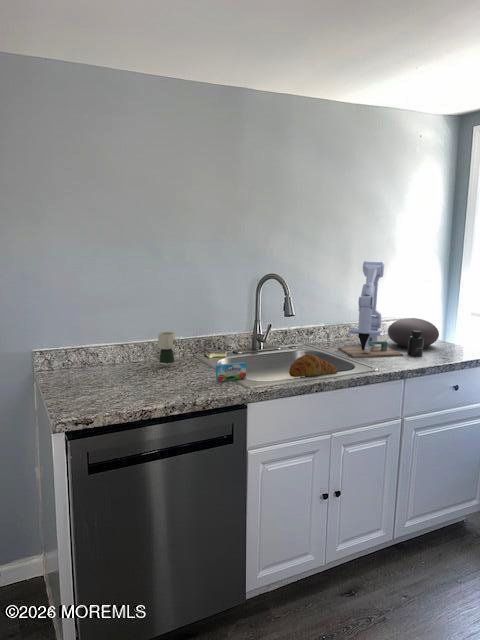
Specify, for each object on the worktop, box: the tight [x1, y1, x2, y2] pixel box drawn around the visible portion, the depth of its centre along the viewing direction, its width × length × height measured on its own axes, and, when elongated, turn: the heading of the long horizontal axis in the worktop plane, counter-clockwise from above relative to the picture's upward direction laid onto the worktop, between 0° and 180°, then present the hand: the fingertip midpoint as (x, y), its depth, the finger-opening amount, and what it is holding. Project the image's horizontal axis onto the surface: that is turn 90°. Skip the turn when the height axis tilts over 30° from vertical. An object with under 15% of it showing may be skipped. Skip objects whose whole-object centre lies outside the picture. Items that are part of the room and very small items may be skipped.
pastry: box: [288, 353, 338, 378], centre depth 188 cm, size 21×13×8 cm, turn 113°
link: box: [364, 337, 374, 354], centre depth 226 cm, size 15×4×5 cm, turn 158°
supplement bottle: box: [406, 330, 424, 358], centre depth 220 cm, size 7×7×12 cm
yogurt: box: [215, 361, 247, 383], centre depth 177 cm, size 12×2×6 cm, turn 114°
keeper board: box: [338, 340, 404, 359], centre depth 226 cm, size 18×25×5 cm
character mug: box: [157, 331, 176, 365], centre depth 199 cm, size 11×7×13 cm, turn 19°
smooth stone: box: [387, 317, 440, 348], centre depth 240 cm, size 25×25×15 cm
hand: (363, 349), depth 221 cm, fingers closed
